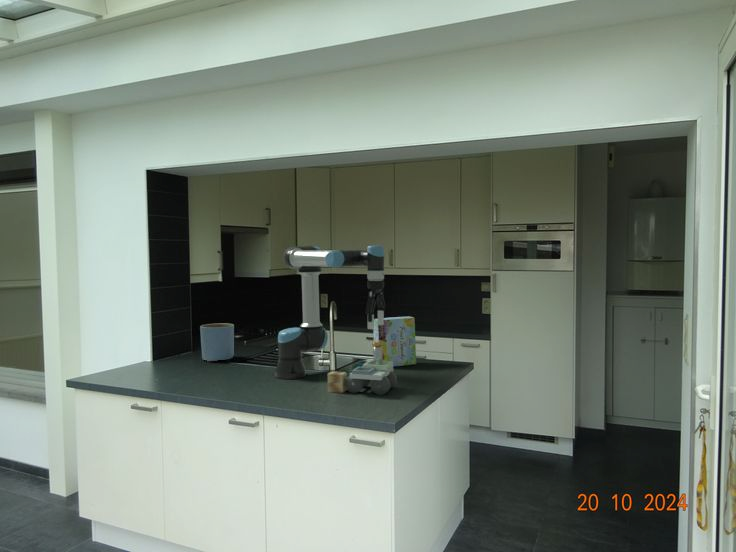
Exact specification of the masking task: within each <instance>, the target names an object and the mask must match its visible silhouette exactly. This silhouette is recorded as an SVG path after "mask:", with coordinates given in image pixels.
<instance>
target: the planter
mask: <svg viewBox="0 0 736 552" xmlns="http://www.w3.org/2000/svg"><path fill="white" fill-rule="evenodd" d="M199 330H200V346H201V359H202V360H203V361H204V360H207V362H217V361H218V360H225V359H229V360H231V359H233V358H234V357H233V356H234V355H235V353H234V351H235V349H234V348H235V343H234V342H235V324H233V323H228V322H226V323H225V322H224V323H207V324H202V325H200V327H199ZM218 362H219V361H218Z"/></svg>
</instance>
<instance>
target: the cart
mask: <svg viewBox="0 0 736 552" xmlns="http://www.w3.org/2000/svg"><path fill="white" fill-rule="evenodd" d="M351 371H352V373H350V375H349V376H348V377H347V378H346V380H345V387H346V389H347V390H346V391H348V392H349V393H351V394H356V393H359V391H362V390H363V388H365V387H367V386H368V385H370V389H371V391H372V392H373V393H374V394H376V395H378V396H382V395H385V394H387V392H388V391H390V390H391V389H392V388H394V387H395V386H396V385H397V383H398V378H397V374H396V373H395V371H394V367H392V368H391V369H390V370H388V371H387V372H385V371H376V368H374V367H363V366H362V367H357V368H355V369H353V370H352V369H351Z"/></svg>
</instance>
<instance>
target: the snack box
mask: <svg viewBox="0 0 736 552" xmlns="http://www.w3.org/2000/svg"><path fill="white" fill-rule="evenodd" d="M415 322H416V321H415V317H413V316H409V315H408V316H397V317H394V316H393V317H384V325H378V318H374V329H372V331H373V343H374V342H382V343H383V345H382V359H383V361H393V368H394V367H401V366H412V365H417V351H416V349H417V347H416V346H417V345H416V323H415Z"/></svg>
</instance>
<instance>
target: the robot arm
mask: <svg viewBox="0 0 736 552" xmlns="http://www.w3.org/2000/svg"><path fill="white" fill-rule="evenodd" d="M282 260H283V263H284V265H285V267H287V268H288V269H291V270H298V274H300V276H301V295H302V296H301V297H302V298H301V300H302V301H301V302H302V323H301V324H300V326H299V327H288V328H285V329H282V330H280V331H279V332H278V335H277V345H278V346H277V347H278V348H277V349H278V354H277V355H278V362H277V366H276V369H275V373H274V375H275V377H276V378H278V379H281V380H283V379H284V380H289V379H290V380H291V379H301V378H304V377H306V376H307V371H306V367H305V364H304V362H303V361H304V360H303V354H304V353H305V354H306V353H309V352H317V351H320V350H323V349H324V348H325V347H326V346H327V343H328V339H329V335H328V332H327V329H326V328H324V327H323V323H321V321H320V320H321V319H320V291H319V290H320V287H319V284H320V283H319V281H320V280H319V275H320V274H321V273H322V269H323V268H324V267H327V268H328V267H330V268H348V267H350V268H351V267H367V273H366V274H367V275H366V278H367V283H366V284H367V289H368V290H370V291H368V293H367V301H366V306H365V312H364V314H365V315H367V330H373V329H374V319H375V314H374V311H375V309H376V307H377V309H378V310H377V319H378V325H384V318H385V317H384V316H385V313H384V312H386V310H387V309H386V303H385V297H384V289H385V281H384V279H385V275H386V272H385V248H384V246H383V245H368V246H367V249H346V250H345V249H333V250H332V249H331V250H327V249H325V250H324V249H323V250H322V248H320V247H319V246H312V245H310V246H309V245H308V246H307V245H306V246H305V245H304V246H303V245H301V246H300V245H299V246H298V245H297V246H291V247H288V248H286V250H285V251H284V253H283V255H282Z"/></svg>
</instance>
